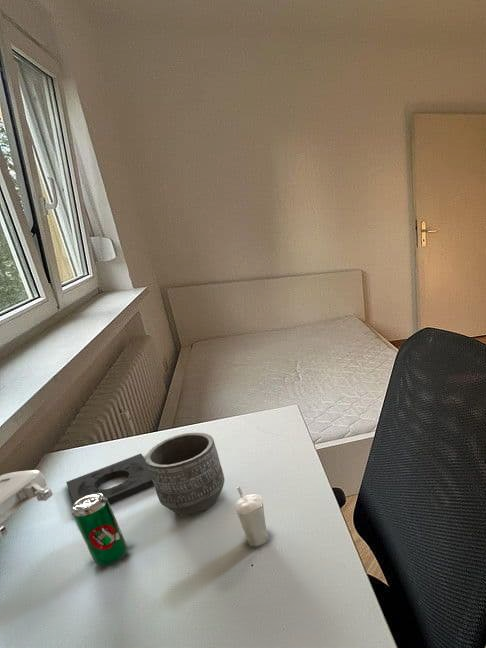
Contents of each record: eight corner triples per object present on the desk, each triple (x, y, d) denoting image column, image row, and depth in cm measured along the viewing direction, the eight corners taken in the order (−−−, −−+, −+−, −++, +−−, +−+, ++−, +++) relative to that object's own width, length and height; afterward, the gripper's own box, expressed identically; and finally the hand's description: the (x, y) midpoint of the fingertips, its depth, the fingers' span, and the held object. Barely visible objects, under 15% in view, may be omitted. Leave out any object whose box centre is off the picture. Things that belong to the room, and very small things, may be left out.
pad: (79, 517, 87) (76, 511, 87) (68, 487, 97) (66, 481, 97) (159, 483, 96) (157, 477, 96) (142, 458, 106) (141, 453, 106)
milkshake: (261, 525, 82) (250, 481, 78) (276, 539, 79) (265, 493, 74) (238, 538, 79) (225, 493, 75) (252, 553, 76) (239, 507, 72)
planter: (196, 528, 82) (178, 472, 77) (149, 515, 87) (129, 460, 82) (241, 489, 92) (227, 436, 87) (197, 479, 97) (181, 428, 92)
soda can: (104, 547, 79) (80, 493, 74) (133, 543, 80) (111, 489, 75) (89, 569, 75) (62, 513, 70) (120, 565, 75) (95, 509, 70)
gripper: (10, 490, 86) (77, 488, 85) (-105, 575, 67) (-20, 574, 66) (-5, 462, 83) (65, 460, 82) (-128, 544, 65) (-39, 542, 64)
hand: (27, 512), depth 74 cm, fingers open, 8 cm apart
